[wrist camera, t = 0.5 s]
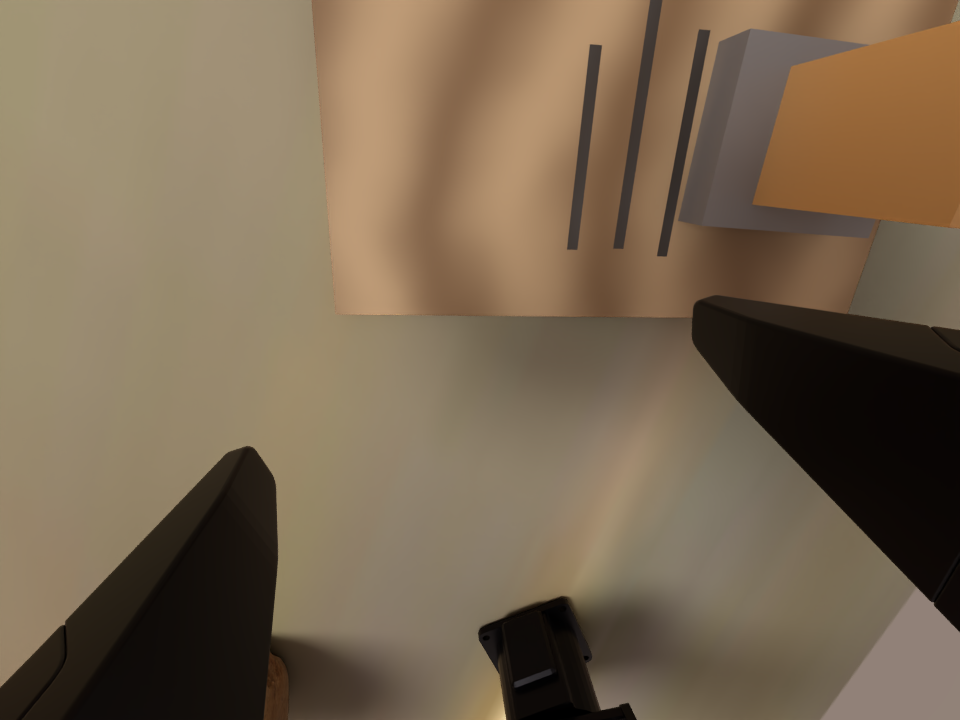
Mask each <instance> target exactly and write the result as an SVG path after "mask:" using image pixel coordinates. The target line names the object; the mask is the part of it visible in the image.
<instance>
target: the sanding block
mask: <svg viewBox="0 0 960 720" xmlns="http://www.w3.org/2000/svg"><path fill="white" fill-rule="evenodd" d="M876 219H880V220H889V221H897V222H906V223H914V224H923V225H931V226H940V227H948V228H960V21H957V22H953V23H949V24H946V25H942V26H938V27H935V28H931V29H927V30H924V31H920V32H916V33H912V34H909V35H905V36H901V37H898V38H894V39H890V40H887V41H883V42H879V43H876V44H872V45H867V44H860V43H853V42H846V41H838V40H831V39H824V38H817V37H810V36H802V35H795V34H788V33H781V32H773V31H766V30H759V29H752V28H751V29H748V30H746V31H743V32H741V33H739V34H736V35H734V36H732V37H729V38H727V39H724V40H722V41H720V42H719V44H718V49H717V53H716V57H715V62H714V66H713V70H712V75H711V79H710V84H709V88H708V92H707V97H706V101H705V105H704V110H703V114H702V118H701V123H700V127H699V131H698V136H697V140H696V144H695V149H694V153H693V157H692V162H691V166H690V170H689V175H688V179H687V184H686V188H685V192H684V197H683V201H682V205H681V210H680V214H679V218H678V221H682V222H686V223H691V224H696V225H700V226H711V227H724V228H738V229H751V230H764V231H777V232H790V233H804V234H817V235H830V236H843V237H857V238H869V236H870V233H871V231H872V228H873V226H874V223H875V220H876Z"/></svg>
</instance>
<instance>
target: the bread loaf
mask: <svg viewBox="0 0 960 720" xmlns="http://www.w3.org/2000/svg"><path fill="white" fill-rule="evenodd" d="M288 713H289V678H288V674H287V670H286V666H285V664H284V663H283V661H282V660H281V658H279V657H277V656H274V655H272V653H271V652H270V656H269V667H268V678H267V689H266V700H265V711H264V720H288Z"/></svg>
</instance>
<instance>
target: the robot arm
mask: <svg viewBox="0 0 960 720" xmlns="http://www.w3.org/2000/svg"><path fill="white" fill-rule="evenodd" d="M692 340H693V343H694V345H695V347H696V348H697V350H698V351H699V352H700V354H701V355H702V356H703V357H704V359H705V360H706V361H707V363H708V364H709V365H710V367H711V368H712V369H713V370H714V372H715V373H716V374H717V376H718V377H719V378H720V379H721V381H722V382H723V383H724V385H725V386H726V387H727V389H728V390H729V391H730V392H731V394H732V395H733V396H734V397H735V398H736V400H737V401H738V402H739V403H740V404H741V405H742V406H743V407H744V409H745V410H746V411H747V412H748V413H749V414H750V415H751V416H752V417H753V418H754V419H755V420H756V421H757V422H758V423H759V424H760V425H761V426H762V427H763V428H764V429H765V430H766V431H767V432H768V433H769V435H770V436H771V437H772V438H773V439H774V440H775V441H776V442H777V443H778V444H779V445H780V446H781V447H782V448H783V449H784V450H785V451H786V452H787V453H788V454H789V455H790V456H791V457H792V458H793V459H794V460H795V461H796V462H797V464H798V465H799V466H800V467H801V468H802V469H803V470H804V471H805V472H806V473H807V474H808V475H809V476H810V477H811V478H812V479H813V480H814V481H815V482H816V483H817V484H818V485H819V486H820V487H821V488H822V489H823V490H824V491H825V493H826V494H827V495H828V496H829V497H830V498H831V499H832V500H833V501H834V502H835V503H836V504H837V505H838V506H839V507H840V508H841V509H842V510H843V511H844V512H845V513H846V514H847V515H848V516H849V517H850V518H851V519H852V521H853V522H854V523H855V524H856V525H857V526H858V527H859V528H860V529H861V530H862V531H863V532H864V533H865V534H866V535H867V536H868V537H869V538H870V539H871V540H872V541H873V542H874V543H875V544H876V545H877V546H878V547H879V548H880V550H881V551H882V552H883V553H884V554H885V555H886V556H887V557H888V558H889V559H890V560H891V561H892V562H893V563H894V564H895V565H896V566H897V567H898V568H899V569H900V570H901V571H902V572H903V573H904V574H905V575H906V576H907V578H908V579H909V580H910V581H911V582H912V583H913V584H914V585H915V586H916V587H917V588H918V589H919V590H920V591H921V592H922V593H923V594H924V595H925V596H926V597H927V598H928V599H929V600H930V601H931V602H934V606H935V607H936V608H937V609H938V610H939V611H940V612H941V613H942V614H943V615H944V616H945V617H946V618H947V619H948V620H949V621H950V623H951V624H952V625H953V626H954V627H955V628H956V629H957V630H958V631H959V632H960V330H955V329H948V328H942V327H931V328H930V327H929V326H927V325H920V324H913V323H907V322H900V321H893V320H886V319H879V318H872V317H865V316H858V315H852V314H845V313H838V312H831V311H824V310H817V309H810V308H803V307H797V306H790V305H783V304H776V303H769V302H762V301H755V300H748V299H742V298H735V297H728V296H721V295H712V296H709V297H706V298H703V299H700V300H697V301H696V302H695V303H694V306H693V317H692ZM277 565H278V535H277V504H276V484H275V480H274V477H273V475H272V473H271V472H270V470H269V469H268V467H267V466H266V464H265V463H264V461H263V460H262V459H261V457H260V456H259V454H258V453H257V451H256V450H255V449H254V448H253V447H250V446H246V447H242V448H239V449H236V450H233V451H230V452H228V453H227V454H225V455H224V457H223V458H222V459H221V460H220V461H219V462H218V463H217V464H216V465H215V466H214V467H213V468H212V469H211V470H210V471H209V472H208V473H207V474H206V475H205V476H204V477H203V478H202V479H201V480H200V481H199V483H198V484H197V485H196V486H195V487H194V488H193V489H192V490H191V491H190V492H189V493H188V494H187V495H186V496H185V497H184V498H183V499H182V500H181V501H180V502H179V503H178V504H177V505H176V506H175V507H174V509H173V510H172V511H171V512H170V513H169V514H168V515H167V516H166V517H165V518H164V519H163V520H162V521H161V522H160V523H159V524H158V525H157V526H156V527H155V528H154V529H153V530H152V531H151V532H150V533H149V534H148V536H147V537H146V538H145V539H144V540H143V541H142V542H141V543H140V544H139V545H138V546H137V547H136V548H135V549H134V550H133V551H132V552H131V553H130V554H129V555H128V556H127V557H126V558H125V559H124V560H123V562H122V563H121V564H120V565H119V566H118V567H117V568H116V569H115V570H114V571H113V572H112V573H111V574H110V575H109V576H108V577H107V578H106V579H105V580H104V581H103V582H102V583H101V584H100V585H99V586H98V588H97V589H96V590H95V591H94V592H93V593H92V594H91V595H90V596H89V597H88V598H87V599H86V600H85V601H84V602H83V603H82V604H81V605H80V606H79V607H78V608H77V609H76V610H75V611H74V612H73V614H72V615H71V616H70V617H69V618H68V619H67V620H66V621H65V625H62V626H60V627H59V628H58V629H57V630H56V631H55V632H54V633H53V634H52V635H51V636H50V637H49V638H48V639H47V640H46V641H45V643H44V644H43V645H42V646H41V647H40V648H39V649H38V650H37V651H36V652H35V653H34V654H33V655H32V656H31V657H30V658H29V659H28V660H27V661H26V662H25V663H24V664H23V665H22V666H21V667H20V668H19V669H18V670H17V671H16V672H15V673H14V674H13V675H12V676H11V677H10V678H9V679H8V680H7V681H6V682H5V683H4V684H3V685H2V686H1V687H0V720H264V711H265V700H266V689H267V678H268V667H269V656H270V645H271V634H272V622H273V611H274V600H275V589H276V578H277ZM478 636H479V641H480V643H481V644H482V646H483V648H484V649H485V651H486V653H487V654H488V656H489V658H490V659H491V661H492V663H493V664H494V666H495V668H496V669H497V671H498V673H499V674H500V681H501V687H502V694H503V701H504V707H505V714H506V720H637V719H636V717H635V715H634V713H633V711H632V709H631V707H630V705H629V703H626V704H621V705H619V707H615V708H611V709H606V710H601V709H600V706H599V703H598V700H597V697H596V694H595V691H594V688H593V685H592V682H591V679H590V676H589V673H588V670H587V666H586V663H587V662H589V661H590V660H591V659H592V654H591V651H590V649H589V647H588V644H587V642H586V640H585V638H584V635H583V633H582V631H581V629H580V627H579V624H578V622H577V620H576V618H575V615H574V613H573V611H572V609H571V606H570V604H569V602H568V600H567V599H558V600H555V601H553V602H550V603H547V604H545V605H542V606H540V607H537V608H534V609H532V610H529V611H526V612H524V613H521V614H518V615H516V616H513V617H511V618H508V619H505V620H503V621H500V622H497V623H495V624H492V625H489V626H487V627H484V628H482V629H480V630H479V632H478Z"/></svg>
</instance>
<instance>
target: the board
mask: <svg viewBox="0 0 960 720" xmlns="http://www.w3.org/2000/svg"><path fill="white" fill-rule="evenodd" d="M957 3H958V0H312V11H313V24H314V37H315V50H316V64H317V77H318V90H319V103H320V116H321V129H322V142H323V155H324V169H325V182H326V195H327V208H328V221H329V234H330V247H331V260H332V274H333V287H334V300H335V313H336V314H351V315H458V316H565V317H672V318H692V317H693V306H694V303H695V302H696V301H697V300H700V299H703V298H706V297H709V296H712V295H721V296H728V297H735V298H742V299H748V300H755V301H762V302H769V303H776V304H783V305H790V306H797V307H803V308H810V309H817V310H824V311H831V312H838V313H845V314H848V311H849V308H850V305H851V302H852V300H853V297H854V294H855V291H856V288H857V285H858V283H859V280H860V277H861V274H862V271H863V268H864V266H865V263H866V260H867V257H868V254H869V252H870V249H871V246H872V243H873V240H874V237H875V235H876V232H877V229H878V226H879V223H880V221H881V220H880V219H876V220H875V223H874V226H873V228H872V231H871V233H870V236H869V238H857V237H843V236H830V235H817V234H804V233H790V232H777V231H764V230H751V229H738V228H724V227H711V226H700V225H696V224H691V223H686V222H682V221H678V218H679V214H680V210H681V205H682V201H683V197H684V192H685V188H686V184H687V179H688V175H689V170H690V166H691V162H692V157H693V153H694V149H695V144H696V140H697V136H698V131H699V127H700V123H701V118H702V114H703V110H704V105H705V101H706V97H707V92H708V88H709V84H710V79H711V75H712V70H713V66H714V62H715V57H716V53H717V49H718V44H719V42H720V41H722V40H724V39H727V38H729V37H732V36H734V35H736V34H739V33H741V32H743V31H746V30H748V29H751V28H752V29H759V30H766V31H773V32H781V33H788V34H795V35H802V36H810V37H817V38H824V39H831V40H838V41H846V42H853V43H860V44H867V45H872V44H876V43H879V42H883V41H887V40H890V39H894V38H898V37H901V36H905V35H909V34H912V33H916V32H920V31H924V30H927V29H931V28H935V27H938V26H942V25H946V24H949V23H951V20H952V17H953V15H954V12H955V9H956V6H957Z"/></svg>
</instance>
